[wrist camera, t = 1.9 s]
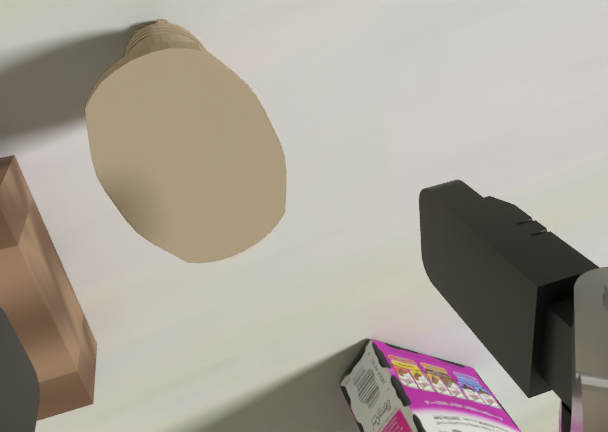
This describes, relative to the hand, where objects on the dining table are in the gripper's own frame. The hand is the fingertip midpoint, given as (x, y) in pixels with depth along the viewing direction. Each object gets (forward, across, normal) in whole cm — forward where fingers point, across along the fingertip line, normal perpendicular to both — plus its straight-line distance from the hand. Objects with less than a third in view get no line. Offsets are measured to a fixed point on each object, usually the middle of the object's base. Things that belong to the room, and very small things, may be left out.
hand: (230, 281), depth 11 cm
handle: (+21, 0, 0) cm, 21 cm away
